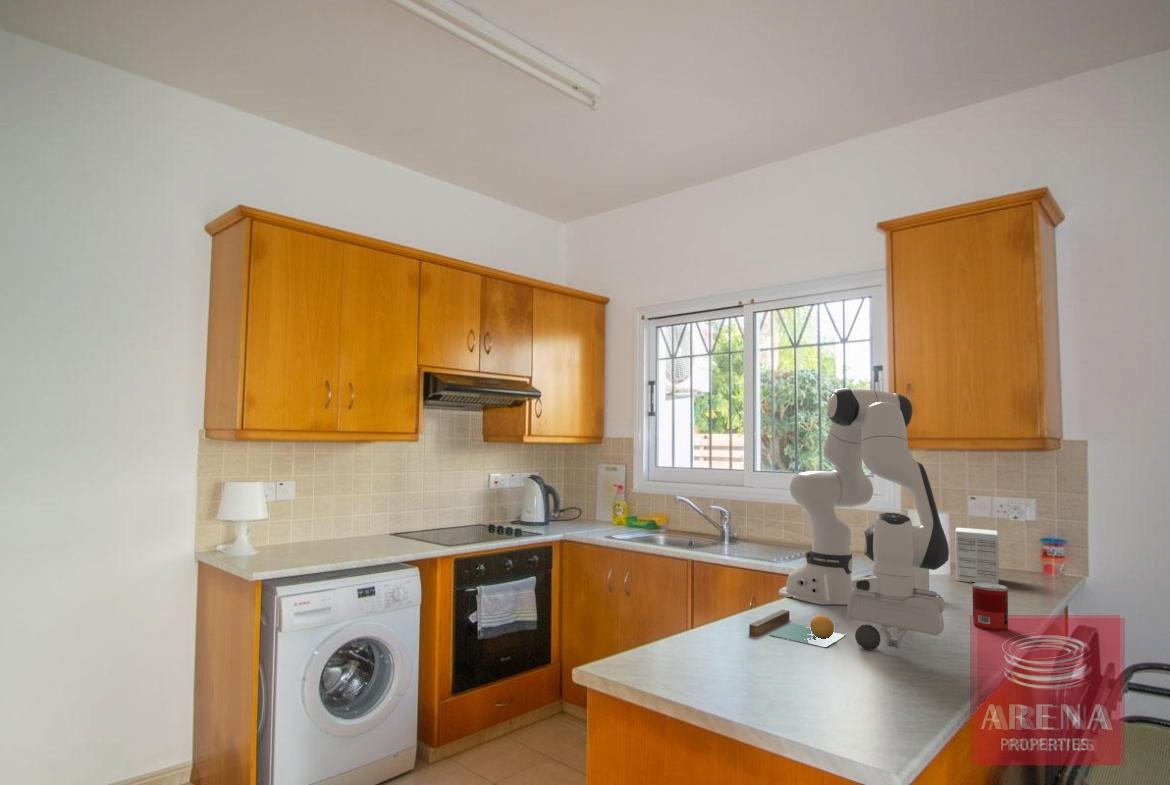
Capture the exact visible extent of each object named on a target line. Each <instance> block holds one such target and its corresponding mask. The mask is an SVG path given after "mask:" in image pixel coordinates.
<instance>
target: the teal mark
mask: <svg viewBox="0 0 1170 785" xmlns="http://www.w3.org/2000/svg"><path fill="white" fill-rule="evenodd" d="M806 627H809V626H807V625H802V624H797V623H790V624H788V625H786V626H783V628H780V629H779V630H776V631H774V632H773V633H770V634H769V636H770V637H773V638H774V637H775V638H778V637H779V639H783V638H784V640H787V639H789V640H788V641H792V640H794V641H793V642H796V641H799V642H798V643H801V641H802V642H804V643H803V644H805V643H808V640H807V638H810V639H809V640H811V637H813V638H812V639H814V640H816V639H815V638H816V637H815V635H813V636H811V635H807V634H811V630H810V628H806ZM812 634H813V633H812ZM804 639H805V640H804Z"/></svg>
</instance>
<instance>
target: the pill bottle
mask: <svg viewBox="0 0 1170 785" xmlns="http://www.w3.org/2000/svg"><path fill="white" fill-rule="evenodd" d="M913 568H914V571H915V588H916V589H922V590H926V591H930V569H925V568H919V567H914V566H913Z"/></svg>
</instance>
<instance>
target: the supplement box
mask: <svg viewBox="0 0 1170 785" xmlns="http://www.w3.org/2000/svg"><path fill="white" fill-rule="evenodd" d="M954 532H955V535H954V536H955V581H957V582H965V583H972V582H976V583H977V582H984V583H993V584H999V582H1000V581H999V580H1000V579H999V578H1000V575H999V573H1000V572H999V570H1000V568H999V567H1000V566H999V560H1000V559H999V555H1000V554H999V534H998V530H993V529H992V530H991V529H983V528H982V529H980V528H970V527H969V528H968V527H956V528H955V530H954ZM999 585H1000V584H999Z"/></svg>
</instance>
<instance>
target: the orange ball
mask: <svg viewBox="0 0 1170 785" xmlns="http://www.w3.org/2000/svg"><path fill="white" fill-rule="evenodd" d="M809 625H810V626H809V627H811V631H812V633H813V634H814V635H815V636H816V637H818V638H821V639H826V638H829V637H830V636H831V635H832V634H833V632H835V625H834V622H833V620H832V619H831V618H830V617H828V616H826V615H823V614H820V615H819V614H818V615H816V616H814V617H813V618H812V619H811V621H810V624H809Z"/></svg>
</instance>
